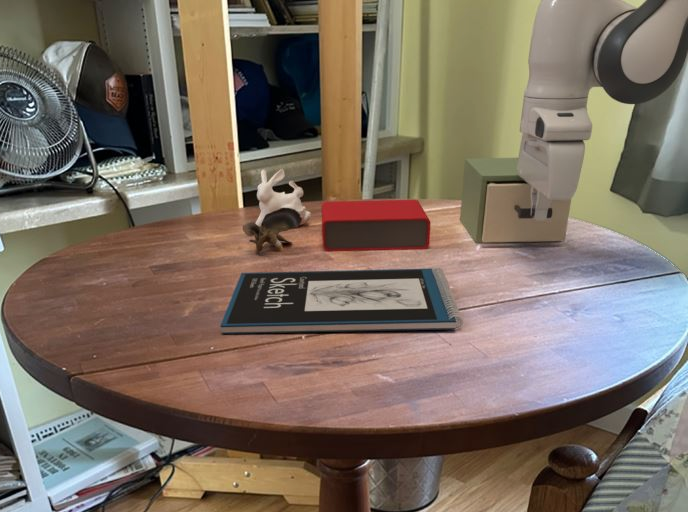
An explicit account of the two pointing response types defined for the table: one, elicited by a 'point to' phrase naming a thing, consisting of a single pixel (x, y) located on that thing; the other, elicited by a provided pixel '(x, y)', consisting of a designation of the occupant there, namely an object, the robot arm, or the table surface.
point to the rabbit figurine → (279, 198)
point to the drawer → (520, 215)
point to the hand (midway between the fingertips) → (538, 218)
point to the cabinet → (483, 190)
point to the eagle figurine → (273, 227)
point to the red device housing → (374, 225)
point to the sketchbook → (341, 302)
